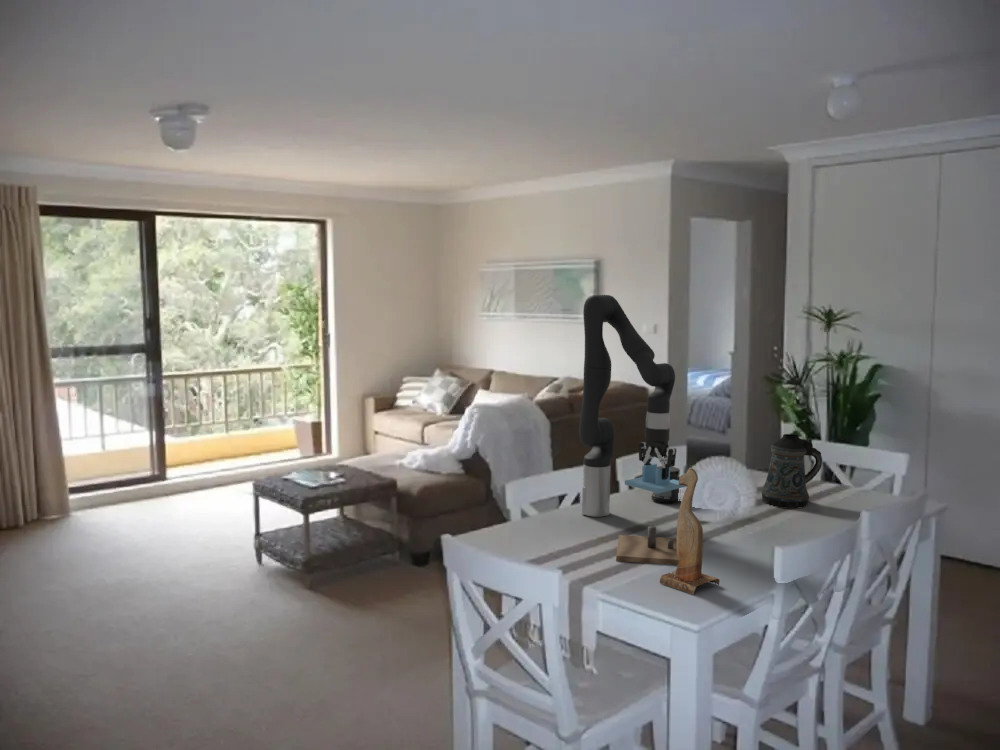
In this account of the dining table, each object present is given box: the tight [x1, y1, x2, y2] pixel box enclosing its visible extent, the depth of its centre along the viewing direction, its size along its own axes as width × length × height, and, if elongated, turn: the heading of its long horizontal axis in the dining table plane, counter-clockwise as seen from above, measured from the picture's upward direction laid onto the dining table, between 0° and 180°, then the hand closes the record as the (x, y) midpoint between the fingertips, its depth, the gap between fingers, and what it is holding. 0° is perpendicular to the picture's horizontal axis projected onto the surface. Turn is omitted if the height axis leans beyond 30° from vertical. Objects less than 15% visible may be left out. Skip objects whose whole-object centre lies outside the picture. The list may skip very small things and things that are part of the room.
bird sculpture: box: [659, 467, 720, 595], centre depth 218 cm, size 11×12×32 cm
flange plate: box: [624, 463, 687, 493], centre depth 266 cm, size 14×14×6 cm
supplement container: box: [651, 465, 681, 505], centre depth 303 cm, size 10×10×12 cm
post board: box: [615, 525, 679, 566], centre depth 245 cm, size 20×20×8 cm
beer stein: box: [761, 433, 823, 509], centre depth 301 cm, size 16×19×25 cm
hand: (656, 476), depth 266 cm, fingers closed on flange plate, 6 cm apart
